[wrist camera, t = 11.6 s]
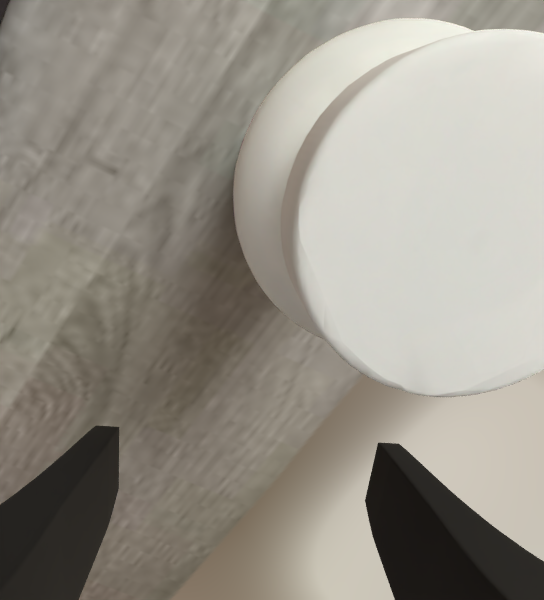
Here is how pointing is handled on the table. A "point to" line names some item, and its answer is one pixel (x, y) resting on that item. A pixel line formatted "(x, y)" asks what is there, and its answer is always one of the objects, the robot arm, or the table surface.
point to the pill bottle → (405, 202)
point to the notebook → (3, 7)
